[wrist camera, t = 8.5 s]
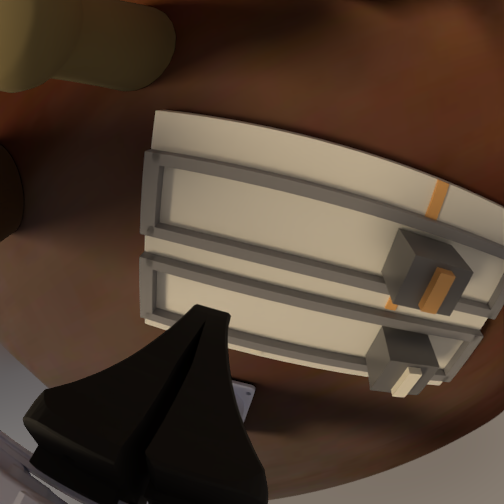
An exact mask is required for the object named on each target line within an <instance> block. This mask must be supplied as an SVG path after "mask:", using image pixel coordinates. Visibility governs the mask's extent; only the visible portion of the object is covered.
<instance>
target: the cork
mask: <svg viewBox="0 0 504 504" xmlns="http://www.w3.org/2000/svg"><path fill="white" fill-rule="evenodd" d="M175 40H176V34H175V30H174V27H173V23H172V22H171V20H170V19H169V18H168V16H167V15H166V14H165V13H163V12H162V11H160V10H158V9H157V8H154V7H150V6H145V5H141V4H136V3H131V2H125V1H120V0H0V91H4V92H9V93H14V92H20V91H24V90H28V89H31V88H34V87H37V86H39V85H41V84H43V83H44V82H46V81H47V80H49V79H50V78H53V79H60V80H67V81H73V82H79V83H84V84H90V85H95V86H101V87H106V88H110V89H115V90H120V91H134V90H138V89H141V88H143V87H145V86H148V85H150V84H151V83H152V82H153V81H155V80H156V79H157V78H158V77H160V76H161V74H162V73H163V72H164V70H165V69H166V67H167V66H168V65H169V63H170V61H171V58H172V55H173V53H174V50H175Z"/></svg>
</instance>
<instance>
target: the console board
mask: <svg viewBox="0 0 504 504" xmlns="http://www.w3.org/2000/svg"><path fill="white" fill-rule="evenodd" d="M398 228H400V229H403V230H407V231H410V232H413V233H416V234H419V235H422V236H426V237H429V238H432V239H435V240H438V241H441V242H444V243H447V244H450V245H452V246H453V247H454V249H455V250H456V251H457V252H458V253H459V255H460V256H461V257H462V258H463V260H464V261H465V262H466V263H467V264H468V266H469V267H470V268H471V270H472V271H473V272H474V273H473V275H472V277H471V279H470V281H469V283H468V285H467V287H466V288H465V290H464V292H463V294H462V296H461V298H460V299H459V301H458V303H457V305H456V306H455V308H454V310H453V312H452V313H451V315H450V316H445V315H441V314H431V313H427V312H422V311H421V310H418V309H414V308H409V307H405V306H400V305H396V304H393V303H392V300H391V297H390V295H389V292H388V289H387V286H386V284H385V281H384V278H383V275H382V273H381V270H382V268H383V266H384V263H385V261H386V259H387V256H388V254H389V251H390V249H391V246H392V244H393V241H394V239H395V236H396V234H397V231H398ZM140 234H143V235H145V251H144V252H143V253H142V255H141V256H140V257H139V285H140V317H142V318H145V324H149V325H152V326H155V327H158V328H161V329H164V330H168V329H169V328H170V327H171V326H173V325H174V324H175V323H176V322H177V321H178V320H179V319H180V318H182V317H183V316H184V315H185V314H186V313H187V312H188V311H189V310H190V309H191V308H192V307H193V306H194V305H196V304H199V305H203V306H206V307H210V308H213V309H217V310H220V311H224V312H227V313H229V314H230V315H231V319H230V323H229V328H228V348H230V349H234V350H238V351H242V352H246V353H250V354H254V355H258V356H262V357H267V358H271V359H275V360H280V361H284V362H289V363H294V364H299V365H303V366H308V367H314V368H319V369H324V370H329V371H335V372H341V373H347V374H353V375H359V376H365V377H368V370H367V364H366V357H365V355H366V353H367V351H368V350H369V348H370V346H371V344H372V343H373V341H374V339H375V337H376V336H377V334H378V332H379V330H380V328H381V327H382V326H386V327H391V328H396V329H401V330H406V331H412V332H417V333H422V334H428V337H429V339H430V342H431V345H432V347H433V350H434V353H435V355H436V358H437V361H438V364H439V366H440V368H439V369H438V370H437V372H436V373H435V374H434V376H433V377H432V378H431V379H430V381H429V382H428V383H427V384H430V385H440V384H441V383H442V382H450V381H451V380H452V379H453V377H454V376H455V375H456V374H457V372H458V371H459V370H460V368H461V367H462V366H463V365H464V363H465V362H466V361H467V359H468V358H469V356H470V355H471V354H472V352H473V351H474V350H475V348H476V347H477V345H478V344H479V342H480V341H481V340H482V338H483V335H482V333H481V331H480V329H481V328H482V326H483V325H484V323H485V321H486V320H487V318H490V319H495V318H496V316H497V315H498V313H499V311H500V310H501V308H502V306H503V305H504V207H503V206H501V205H499V204H497V203H495V202H493V201H491V200H489V199H487V198H485V197H483V196H480V195H478V194H476V193H474V192H472V191H469V190H467V189H465V188H462V187H460V186H458V185H455V184H453V183H451V182H448V181H446V180H443V179H441V178H438V177H436V176H433V175H431V174H428V173H426V172H423V171H420V170H418V169H415V168H412V167H409V166H407V165H404V164H401V163H398V162H395V161H392V160H389V159H386V158H383V157H380V156H377V155H374V154H371V153H368V152H365V151H362V150H358V149H355V148H352V147H348V146H345V145H341V144H338V143H334V142H331V141H327V140H323V139H319V138H316V137H312V136H308V135H304V134H300V133H296V132H291V131H287V130H283V129H278V128H274V127H269V126H264V125H259V124H254V123H249V122H244V121H239V120H233V119H227V118H221V117H215V116H209V115H202V114H195V113H188V112H180V111H172V110H156V111H155V119H154V127H153V135H152V144H151V149H149V150H147V151H145V155H144V166H143V179H142V194H141V213H140Z"/></svg>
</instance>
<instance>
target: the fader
mask: <svg viewBox="0 0 504 504" xmlns="http://www.w3.org/2000/svg"><path fill="white" fill-rule="evenodd" d="M365 357H366V364H367V370H368V377H369V385H370V390H375V391H383V392H391V393H392V396H394V397H405V396H406V395H407V394H411V395H418V394H419V393H420V392H421V391H422V389H423V388H424V387H425V386H426V385H427V383H428V382H429V381H430V379H431V378H432V377H433V376H434V374H435V373H436V372H437V370H438V369H439V368H440V366H439V364H438V361H437V358H436V355H435V353H434V350H433V347H432V345H431V342H430V339H429V337H428V334H422V333H417V332H412V331H406V330H401V329H396V328H391V327H386V326H382V327H381V328H380V330H379V332H378V334H377V336H376V337H375V339H374V341H373V343H372V344H371V346H370V348H369V350H368V351H367V353H366V355H365Z"/></svg>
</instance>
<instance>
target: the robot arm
mask: <svg viewBox="0 0 504 504" xmlns="http://www.w3.org/2000/svg"><path fill="white" fill-rule="evenodd" d="M230 319H231V315H230V314H229V313H227V312H224V311H220V310H217V309H213V308H210V307H206V306H203V305H199V304H196V305H194V306H193V307H192V308H191V309H190V310H189V311H188V312H187V313H186V314H185V315H184V316H183V317H182V318H180V319H179V320H178V321H177V322H176V323H175V324H174V325H173V326H171V327H170V328H169V329H168V330H166V331H165V332H164V333H163V334H162V335H160V336H159V337H158V338H156V339H155V340H154V341H152V342H151V343H149V344H148V345H147V346H145V347H144V348H142V349H141V350H139V351H138V352H136V353H135V354H133V355H131V356H130V357H128V358H126V359H125V360H123V361H121V362H119V363H117V364H115V365H113V366H111V367H109V368H107V369H105V370H103V371H101V372H98V373H96V374H93V375H91V376H88V377H86V378H83V379H80V380H78V381H75V382H72V383H68V384H65V385H61V386H57V387H54V388H50V389H46V390H44V391H43V392H42V393H41V395H39V397H38V398H37V399H36V400H35V401H34V403H33V404H32V406H31V407H30V409H29V410H28V411H27V413H26V414H25V416H24V417H23V422H24V425H25V427H26V429H27V430H28V431H29V433H30V434H31V435H32V437H33V438H34V440H35V441H36V442H37V443H38V447H37V448H36V450H35V452H34V454H33V453H31V452H30V451H28V450H27V449H25V448H24V447H22V446H21V445H20V444H18V443H17V442H15V441H14V440H12V439H11V438H10V437H9V436H7V435H6V434H4V433H3V432H2V431H1V430H0V504H67V503H66V502H65V501H63V500H62V499H60V498H59V497H58V496H57V495H55V494H54V493H53V492H52V491H51V490H50V489H49V488H48V487H46V486H45V485H43V484H42V483H41V482H39V481H38V480H36V479H35V478H34V477H32V476H31V475H30V473H32V474H33V475H35V476H37V477H38V478H40V479H41V480H43V481H44V482H46V483H48V484H49V485H51V486H52V487H54V488H56V489H57V490H59V491H61V492H63V493H64V494H66V495H68V496H70V497H71V498H73V499H75V500H77V501H79V502H81V503H83V504H268V487H267V481H266V476H265V470H264V468H263V466H262V464H261V462H260V460H259V458H258V456H257V454H256V452H255V450H254V448H253V446H252V443H251V441H250V439H249V436H248V434H247V431H246V429H245V426H244V420H245V418H246V415H247V412H248V409H249V407H250V404H251V401H252V398H253V396H254V393H255V386H253V385H251V384H246V383H242V382H238V381H234V380H232V379H231V373H230V366H229V355H228V328H229V323H230ZM29 472H30V473H29Z"/></svg>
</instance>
